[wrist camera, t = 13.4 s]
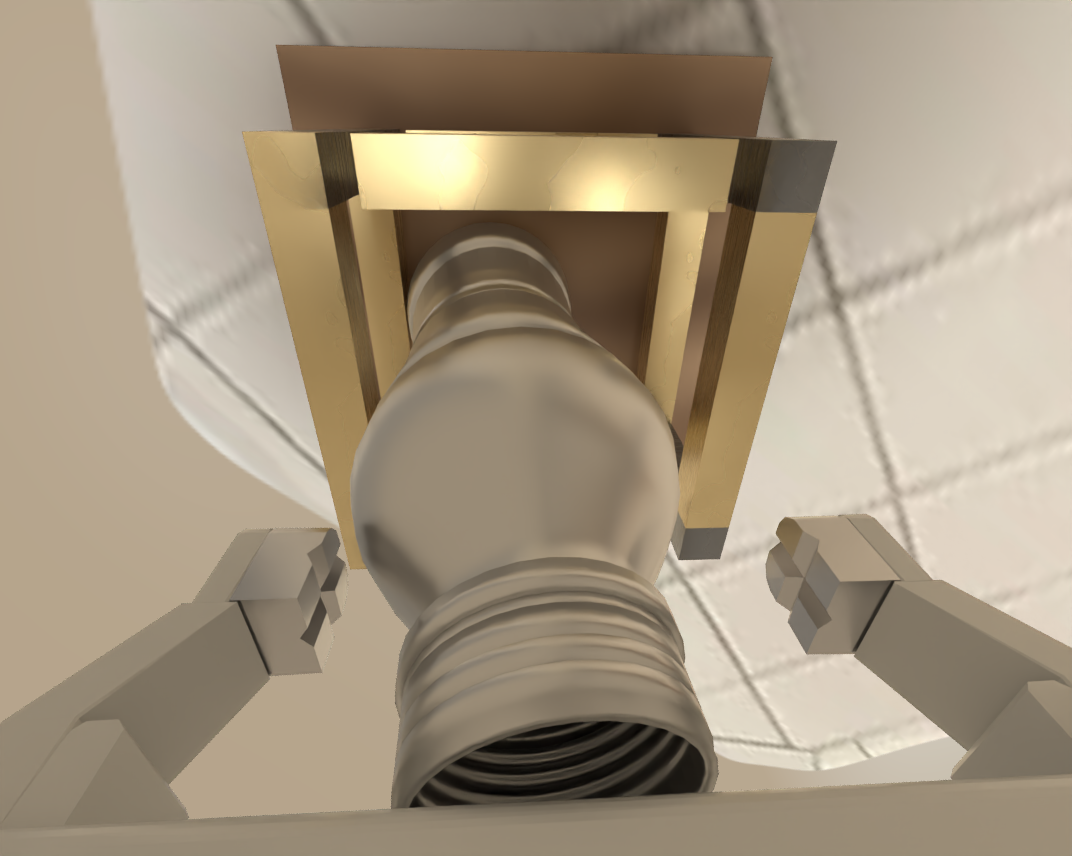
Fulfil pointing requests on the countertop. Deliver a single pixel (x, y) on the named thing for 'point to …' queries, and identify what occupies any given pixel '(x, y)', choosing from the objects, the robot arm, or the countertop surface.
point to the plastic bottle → (524, 545)
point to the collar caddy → (544, 185)
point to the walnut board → (546, 106)
